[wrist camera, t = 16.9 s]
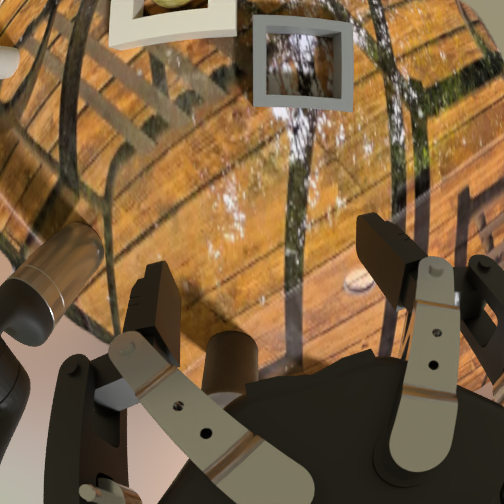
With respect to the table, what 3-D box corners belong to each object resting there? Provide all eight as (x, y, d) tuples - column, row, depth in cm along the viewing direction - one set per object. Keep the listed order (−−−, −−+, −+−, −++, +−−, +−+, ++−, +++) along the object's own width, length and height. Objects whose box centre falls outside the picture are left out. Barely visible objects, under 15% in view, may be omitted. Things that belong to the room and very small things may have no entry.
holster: (253, 106, 35) (253, 106, 32) (252, 23, 30) (252, 14, 26) (343, 111, 35) (352, 112, 32) (343, 30, 30) (352, 23, 26)
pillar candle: (225, 322, 52) (219, 390, 39) (268, 345, 55) (272, 412, 41) (197, 351, 55) (186, 414, 42) (238, 371, 58) (235, 433, 45)
